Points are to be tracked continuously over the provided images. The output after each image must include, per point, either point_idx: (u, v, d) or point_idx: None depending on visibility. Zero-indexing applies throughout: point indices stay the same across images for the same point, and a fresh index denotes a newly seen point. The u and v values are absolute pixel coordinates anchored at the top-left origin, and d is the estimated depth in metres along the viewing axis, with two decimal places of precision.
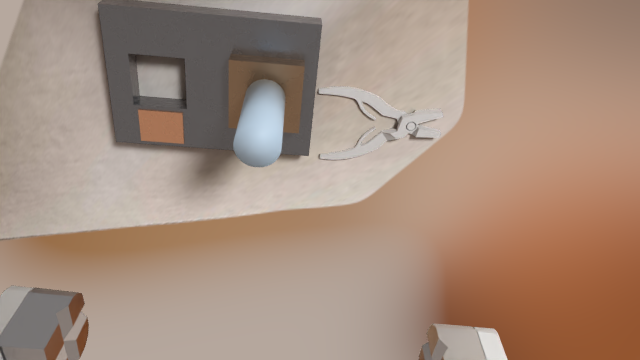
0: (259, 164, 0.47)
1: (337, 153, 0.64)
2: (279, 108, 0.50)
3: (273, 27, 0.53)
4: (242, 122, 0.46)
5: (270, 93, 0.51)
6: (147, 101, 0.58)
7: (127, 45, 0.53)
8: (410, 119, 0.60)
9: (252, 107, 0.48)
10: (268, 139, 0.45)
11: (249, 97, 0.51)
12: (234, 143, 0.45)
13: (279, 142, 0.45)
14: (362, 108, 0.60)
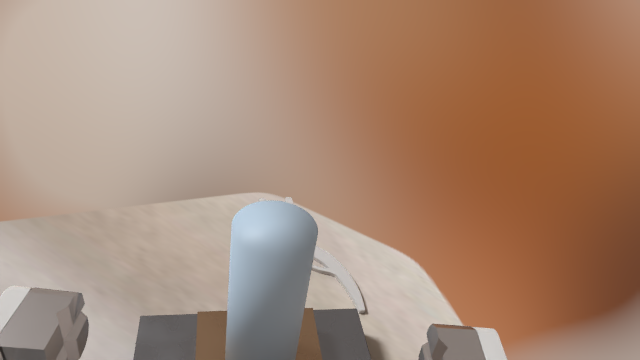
0: (310, 224, 0.26)
1: (349, 291, 0.43)
2: None
3: None
4: (244, 271, 0.25)
5: None
6: None
7: None
8: None
9: (232, 295, 0.27)
10: (258, 214, 0.26)
11: (236, 338, 0.28)
12: (276, 255, 0.24)
13: (260, 202, 0.27)
14: None
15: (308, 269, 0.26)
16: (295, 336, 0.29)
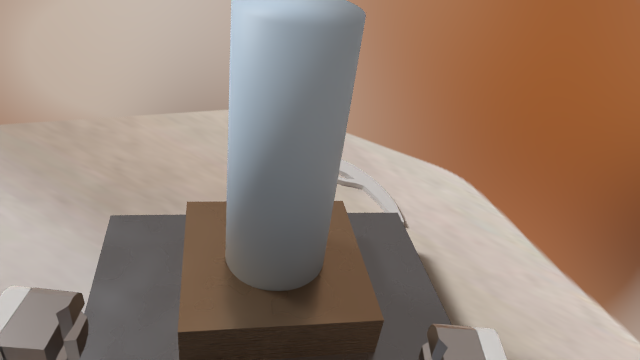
0: (353, 8, 0.17)
1: (382, 202, 0.34)
2: None
3: (110, 285, 0.22)
4: (252, 66, 0.16)
5: None
6: None
7: None
8: None
9: (234, 125, 0.17)
10: None
11: (241, 203, 0.19)
12: (304, 25, 0.15)
13: None
14: None
15: (351, 75, 0.17)
16: (328, 202, 0.19)
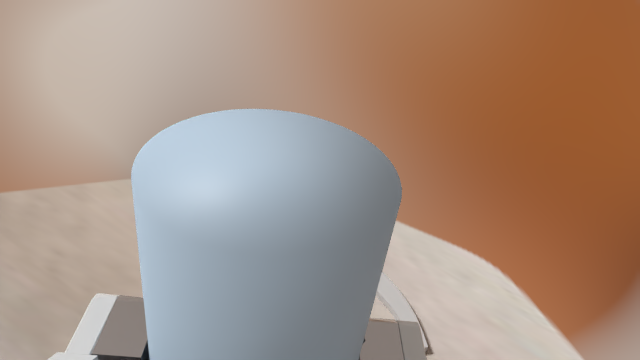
0: (375, 163, 0.09)
1: (397, 313, 0.26)
2: None
3: None
4: (172, 308, 0.08)
5: None
6: None
7: None
8: None
9: None
10: (221, 137, 0.09)
11: None
12: (274, 254, 0.07)
13: (231, 112, 0.10)
14: None
15: (372, 297, 0.09)
16: None
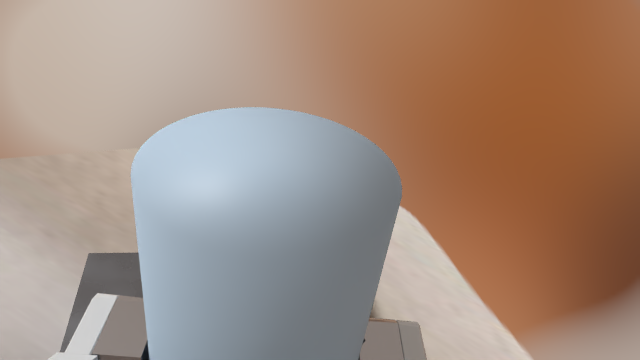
0: (376, 161, 0.09)
1: None
2: None
3: None
4: (171, 306, 0.08)
5: None
6: None
7: None
8: None
9: None
10: (221, 135, 0.09)
11: None
12: (274, 253, 0.07)
13: (231, 111, 0.10)
14: None
15: (372, 295, 0.09)
16: None
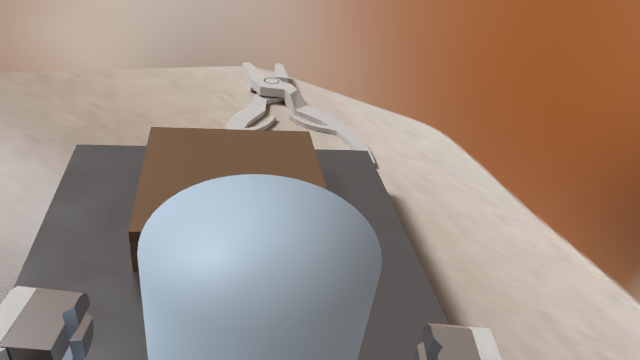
0: (359, 231, 0.10)
1: (354, 145, 0.34)
2: None
3: (69, 202, 0.22)
4: None
5: None
6: None
7: None
8: (260, 81, 0.39)
9: None
10: (219, 207, 0.10)
11: None
12: (265, 334, 0.07)
13: (228, 179, 0.11)
14: (257, 127, 0.35)
15: (356, 355, 0.10)
16: None
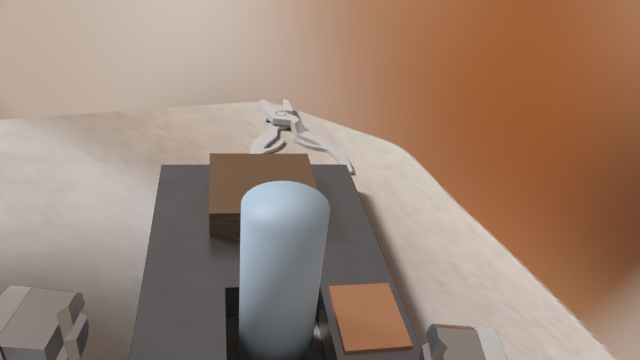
0: (322, 201, 0.25)
1: (339, 159, 0.50)
2: None
3: (166, 200, 0.38)
4: (255, 251, 0.24)
5: None
6: (331, 356, 0.29)
7: None
8: (273, 114, 0.55)
9: (243, 279, 0.26)
10: (267, 194, 0.25)
11: (249, 326, 0.27)
12: (288, 232, 0.23)
13: (270, 183, 0.26)
14: (272, 147, 0.51)
15: (321, 248, 0.25)
16: (310, 322, 0.28)
